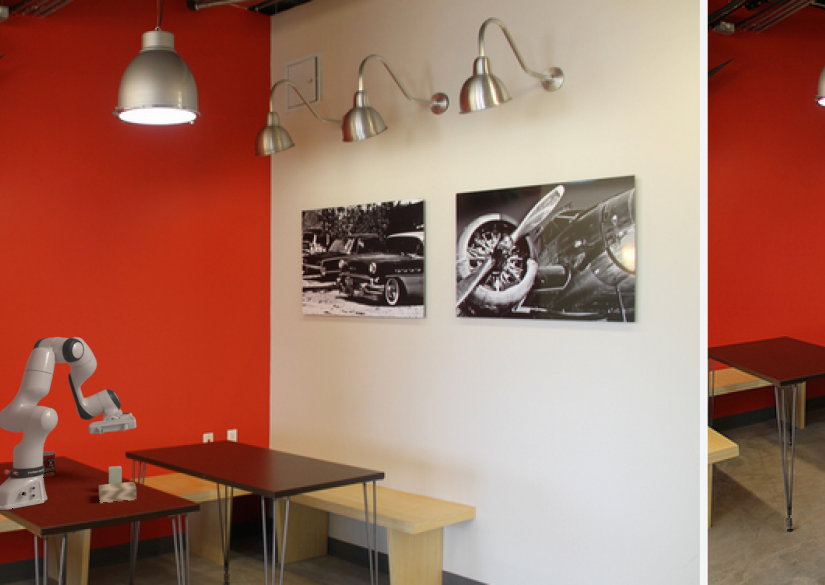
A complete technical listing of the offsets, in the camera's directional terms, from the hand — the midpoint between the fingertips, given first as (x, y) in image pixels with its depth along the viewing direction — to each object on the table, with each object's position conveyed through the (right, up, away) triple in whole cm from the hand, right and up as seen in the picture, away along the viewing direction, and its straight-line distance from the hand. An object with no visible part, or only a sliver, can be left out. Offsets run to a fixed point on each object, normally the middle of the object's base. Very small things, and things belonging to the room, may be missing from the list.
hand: (112, 430), depth 356 cm
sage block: (+5, -24, -11) cm, 27 cm away
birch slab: (+11, -24, -25) cm, 36 cm away
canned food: (-40, -26, +22) cm, 52 cm away
